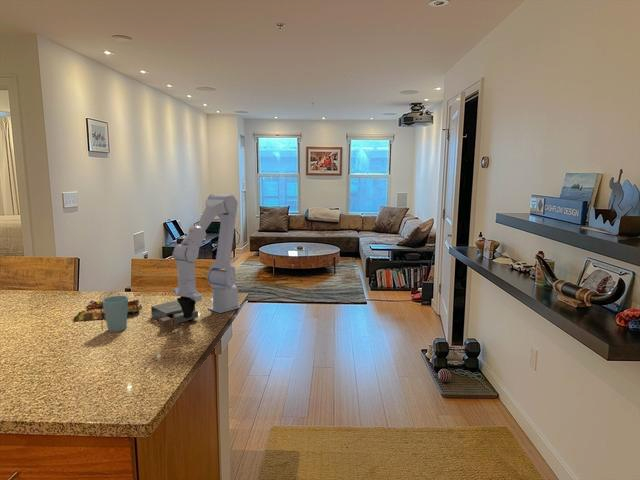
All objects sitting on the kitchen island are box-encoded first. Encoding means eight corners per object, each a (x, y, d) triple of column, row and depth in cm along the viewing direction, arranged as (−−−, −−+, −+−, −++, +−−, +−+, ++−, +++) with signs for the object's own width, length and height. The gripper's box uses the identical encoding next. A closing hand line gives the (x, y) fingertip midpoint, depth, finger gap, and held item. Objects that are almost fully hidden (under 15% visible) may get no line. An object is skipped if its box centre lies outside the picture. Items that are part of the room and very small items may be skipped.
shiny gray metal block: (179, 310, 154) (179, 299, 154) (195, 317, 147) (195, 305, 147) (151, 317, 146) (151, 306, 146) (166, 325, 139) (166, 313, 138)
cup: (129, 331, 133) (127, 300, 131) (103, 334, 130) (101, 303, 128) (130, 323, 140) (128, 294, 138) (105, 326, 137) (103, 297, 135)
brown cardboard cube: (168, 327, 136) (167, 316, 136) (173, 330, 134) (172, 318, 134) (160, 330, 134) (159, 318, 134) (164, 332, 132) (163, 321, 132)
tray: (183, 311, 150) (183, 305, 150) (198, 317, 144) (197, 311, 143) (160, 317, 144) (160, 310, 143) (175, 323, 137) (174, 317, 137)
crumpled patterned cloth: (146, 304, 163) (146, 295, 163) (137, 320, 145) (137, 311, 145) (86, 307, 158) (85, 299, 157) (69, 325, 140) (68, 315, 139)
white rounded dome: (192, 316, 143) (192, 312, 143) (177, 320, 139) (177, 316, 139) (184, 312, 147) (183, 308, 147) (169, 316, 143) (169, 312, 143)
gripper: (164, 277, 139) (166, 315, 142) (187, 285, 130) (188, 325, 132) (183, 274, 145) (185, 310, 147) (206, 281, 135) (207, 320, 137)
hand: (188, 317), depth 140 cm, fingers closed
